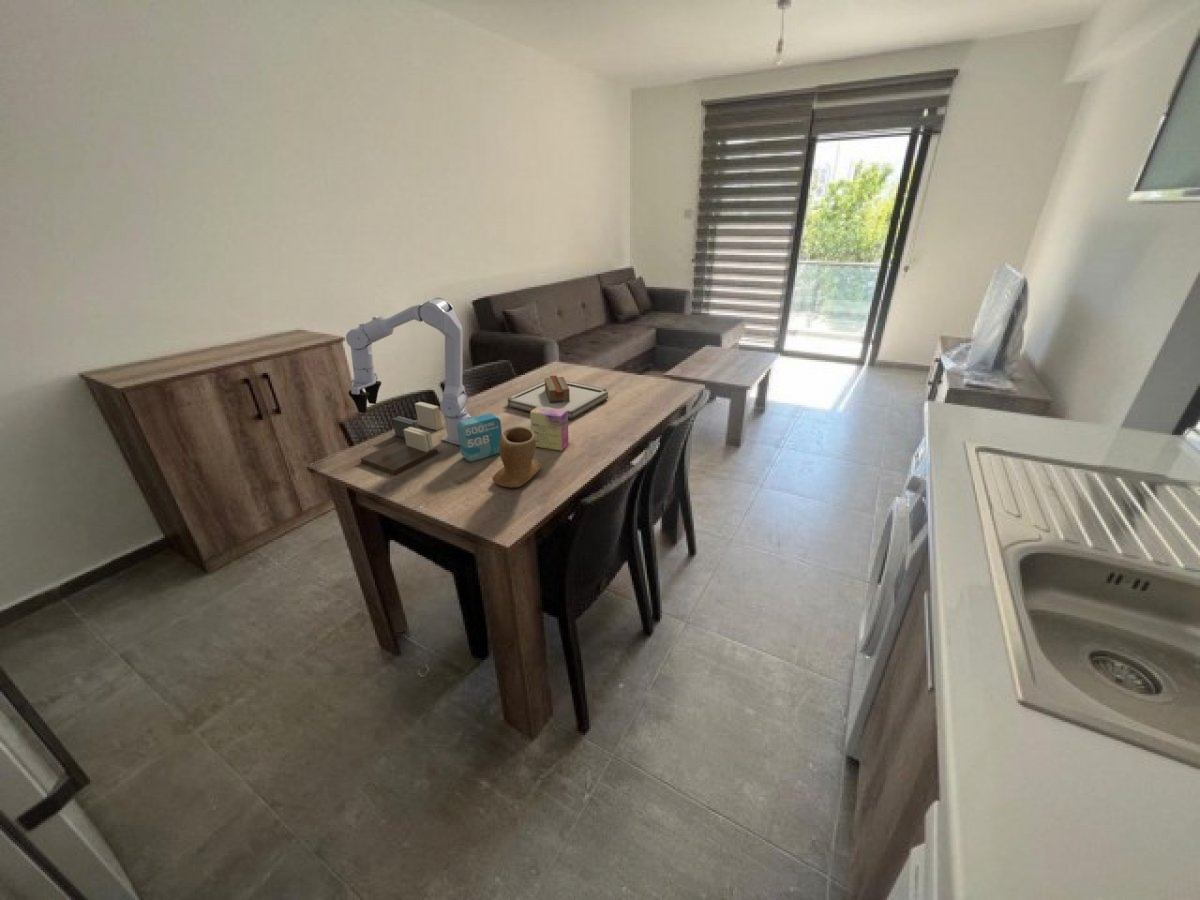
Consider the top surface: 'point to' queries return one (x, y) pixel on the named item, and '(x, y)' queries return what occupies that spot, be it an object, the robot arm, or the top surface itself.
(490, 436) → the data package
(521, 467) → the stone cup
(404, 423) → the grey books
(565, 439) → the box
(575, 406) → the grey square tray
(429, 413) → the white book
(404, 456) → the shelf board
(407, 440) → the cream books
